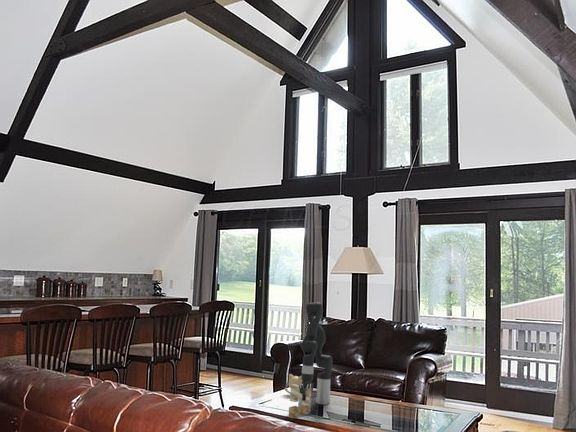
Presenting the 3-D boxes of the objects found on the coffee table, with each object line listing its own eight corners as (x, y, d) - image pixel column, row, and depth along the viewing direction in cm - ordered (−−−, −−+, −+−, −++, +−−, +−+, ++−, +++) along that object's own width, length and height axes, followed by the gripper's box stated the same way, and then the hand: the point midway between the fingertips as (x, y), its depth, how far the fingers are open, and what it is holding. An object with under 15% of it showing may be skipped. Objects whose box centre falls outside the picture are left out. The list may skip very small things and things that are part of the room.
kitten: (307, 395, 383) (308, 374, 385) (302, 398, 374) (303, 377, 376) (289, 392, 389) (290, 372, 391) (283, 394, 380) (285, 374, 382)
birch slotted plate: (293, 399, 336) (294, 384, 337) (310, 404, 327) (311, 388, 328) (289, 400, 333) (291, 384, 334) (307, 405, 324) (308, 389, 325)
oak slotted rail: (305, 412, 337) (306, 402, 338) (310, 413, 335) (310, 404, 335) (288, 417, 323) (289, 407, 324) (292, 418, 321) (293, 408, 322)
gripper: (309, 370, 337) (307, 397, 335) (296, 372, 326) (294, 400, 324) (318, 372, 332) (317, 399, 330) (305, 374, 321) (303, 402, 319)
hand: (305, 399), depth 327 cm, fingers closed on birch slotted plate, 3 cm apart
